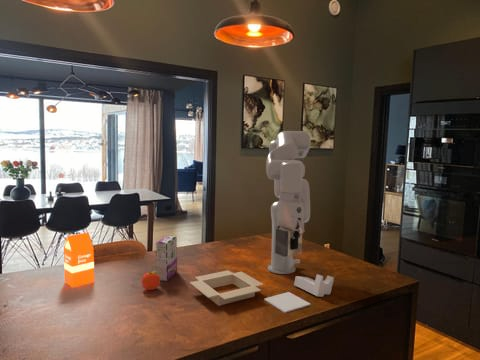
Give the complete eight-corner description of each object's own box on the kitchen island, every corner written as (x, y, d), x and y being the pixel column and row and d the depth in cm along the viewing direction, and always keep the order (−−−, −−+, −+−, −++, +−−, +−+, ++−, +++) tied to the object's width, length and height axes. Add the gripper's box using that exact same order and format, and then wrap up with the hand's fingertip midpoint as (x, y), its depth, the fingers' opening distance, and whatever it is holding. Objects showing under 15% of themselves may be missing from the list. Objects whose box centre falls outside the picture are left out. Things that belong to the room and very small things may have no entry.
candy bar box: (166, 271, 165) (166, 235, 163) (177, 272, 164) (177, 235, 162) (156, 280, 154) (155, 241, 153) (167, 281, 153) (167, 242, 152)
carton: (236, 277, 159) (236, 268, 159) (269, 298, 139) (269, 287, 139) (185, 288, 146) (185, 278, 146) (213, 312, 127) (214, 301, 126)
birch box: (292, 249, 138) (293, 225, 137) (301, 253, 134) (302, 228, 133) (275, 252, 134) (275, 228, 133) (284, 256, 129) (284, 231, 128)
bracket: (329, 297, 144) (333, 277, 144) (317, 296, 140) (321, 276, 140) (306, 285, 155) (310, 267, 155) (293, 284, 151) (297, 266, 151)
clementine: (156, 283, 151) (156, 266, 150) (165, 289, 146) (165, 271, 145) (138, 289, 145) (138, 271, 145) (147, 294, 140) (147, 276, 140)
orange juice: (94, 282, 151) (93, 234, 149) (72, 288, 145) (71, 238, 143) (86, 277, 157) (84, 230, 155) (64, 282, 150) (62, 234, 148)
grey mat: (288, 293, 144) (288, 291, 144) (310, 305, 134) (310, 303, 134) (263, 299, 138) (263, 298, 138) (284, 312, 128) (284, 311, 127)
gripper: (315, 199, 126) (313, 251, 128) (283, 193, 141) (281, 240, 143) (298, 201, 122) (296, 255, 124) (267, 194, 137) (266, 242, 139)
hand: (288, 246), depth 133 cm, fingers closed on birch box, 5 cm apart
